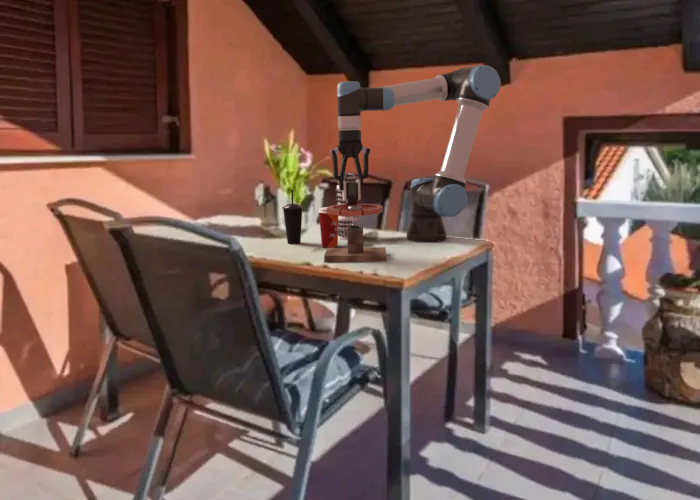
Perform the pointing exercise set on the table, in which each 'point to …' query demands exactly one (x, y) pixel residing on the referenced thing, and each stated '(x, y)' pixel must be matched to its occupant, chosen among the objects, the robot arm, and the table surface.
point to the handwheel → (354, 206)
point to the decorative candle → (342, 220)
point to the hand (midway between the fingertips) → (351, 199)
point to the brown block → (355, 250)
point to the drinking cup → (293, 221)
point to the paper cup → (328, 228)
